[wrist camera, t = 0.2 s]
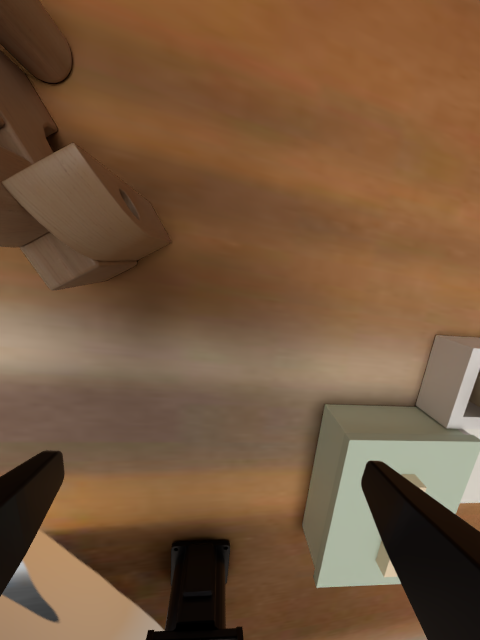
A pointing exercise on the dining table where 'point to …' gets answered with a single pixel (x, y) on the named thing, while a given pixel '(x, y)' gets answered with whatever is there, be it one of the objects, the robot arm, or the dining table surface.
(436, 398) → the pale green box
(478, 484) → the mat
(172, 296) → the dining table surface
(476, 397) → the beige cylinder
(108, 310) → the dining table surface
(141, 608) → the dining table surface
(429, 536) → the robot arm
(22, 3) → the wooden toy
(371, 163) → the dining table surface
